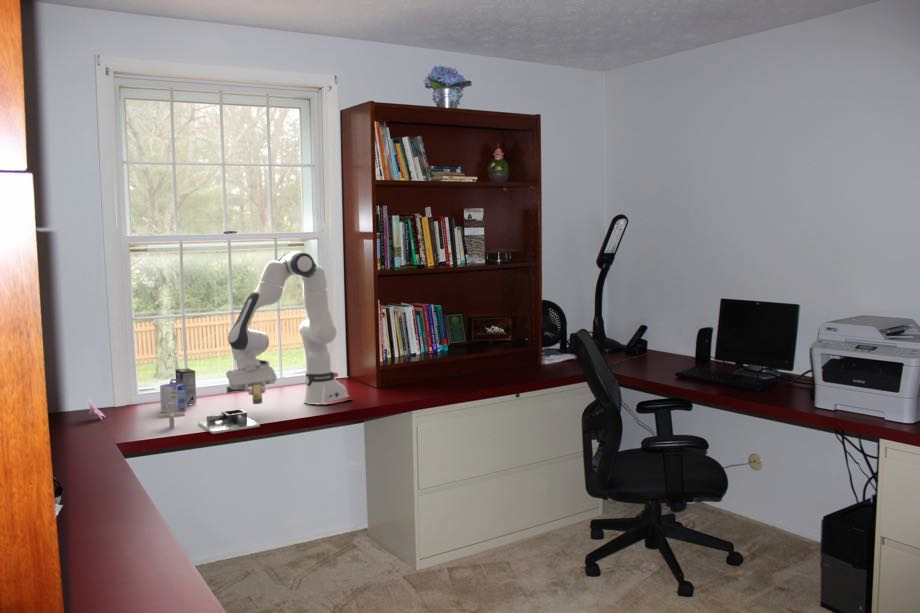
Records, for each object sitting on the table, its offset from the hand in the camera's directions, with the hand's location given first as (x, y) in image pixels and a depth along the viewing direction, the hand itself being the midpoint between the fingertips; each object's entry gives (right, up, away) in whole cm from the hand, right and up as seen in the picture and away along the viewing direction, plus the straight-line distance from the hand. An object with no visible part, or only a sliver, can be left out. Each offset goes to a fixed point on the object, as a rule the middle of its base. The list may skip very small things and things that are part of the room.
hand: (257, 393), depth 319 cm
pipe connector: (-30, -12, -18) cm, 37 cm away
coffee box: (-40, -8, +26) cm, 48 cm away
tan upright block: (0, -4, +1) cm, 4 cm away
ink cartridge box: (-40, -10, +10) cm, 42 cm away
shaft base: (-7, -11, -16) cm, 21 cm away
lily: (-68, -11, -4) cm, 69 cm away
